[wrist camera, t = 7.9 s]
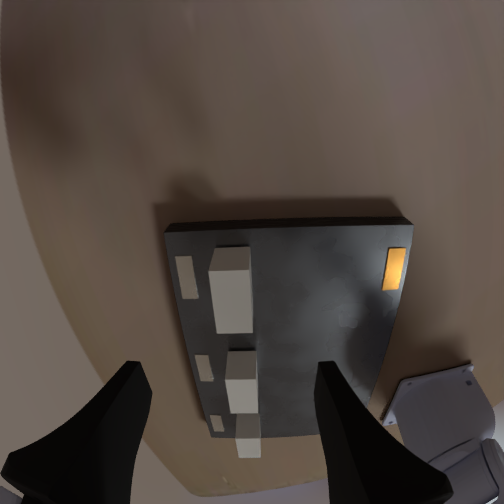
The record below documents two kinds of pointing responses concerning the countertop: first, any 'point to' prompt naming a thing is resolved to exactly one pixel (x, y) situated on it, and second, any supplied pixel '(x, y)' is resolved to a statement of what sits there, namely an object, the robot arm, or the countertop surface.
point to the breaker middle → (242, 381)
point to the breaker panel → (292, 309)
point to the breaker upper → (248, 435)
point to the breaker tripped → (232, 289)
